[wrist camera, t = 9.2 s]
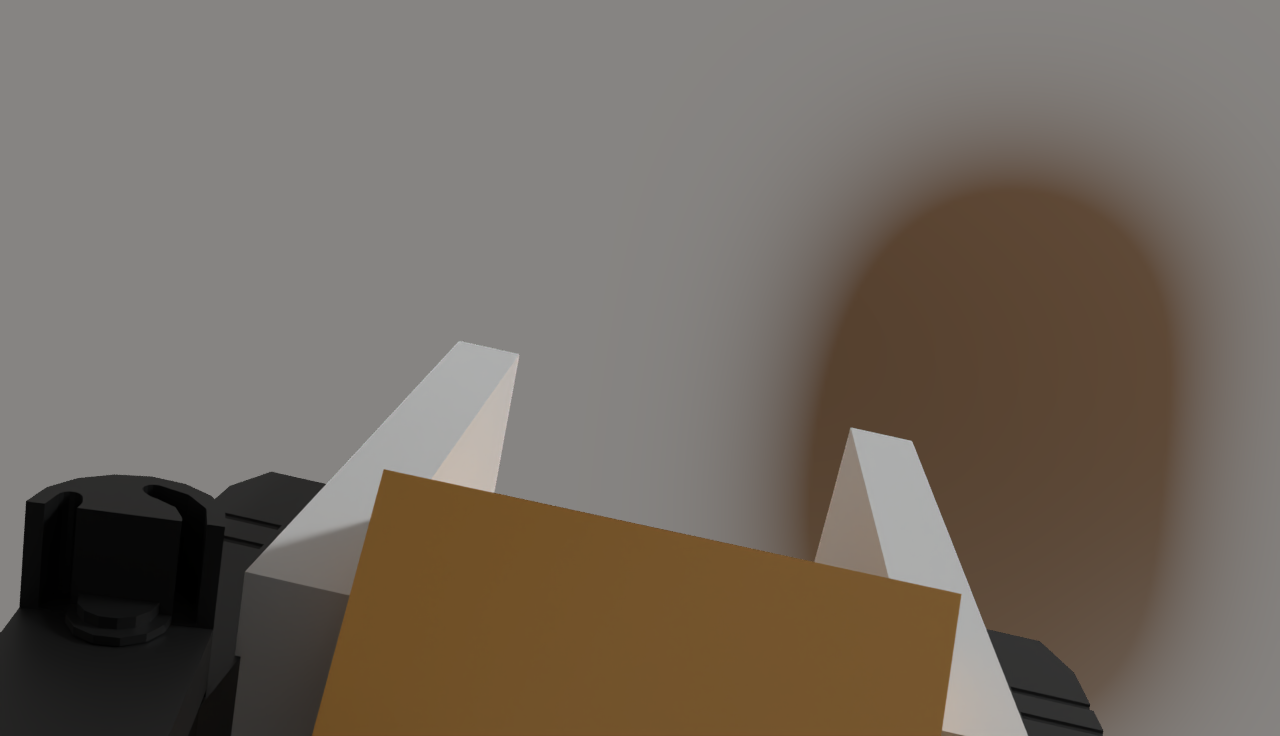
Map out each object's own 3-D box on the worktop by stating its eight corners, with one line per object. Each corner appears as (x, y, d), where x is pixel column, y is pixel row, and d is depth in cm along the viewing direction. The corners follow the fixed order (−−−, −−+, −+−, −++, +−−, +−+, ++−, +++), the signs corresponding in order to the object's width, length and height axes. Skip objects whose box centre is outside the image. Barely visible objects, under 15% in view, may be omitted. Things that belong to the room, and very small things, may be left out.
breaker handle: (695, 793, 25) (724, 647, 26) (890, 1080, 7) (962, 592, 8) (506, 750, 25) (539, 606, 26) (258, 935, 8) (383, 469, 8)
